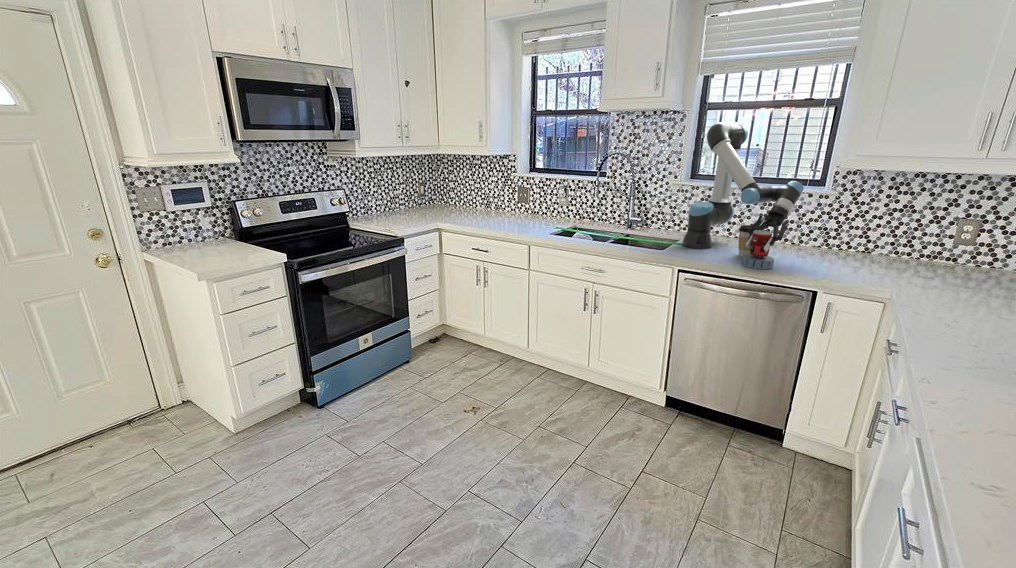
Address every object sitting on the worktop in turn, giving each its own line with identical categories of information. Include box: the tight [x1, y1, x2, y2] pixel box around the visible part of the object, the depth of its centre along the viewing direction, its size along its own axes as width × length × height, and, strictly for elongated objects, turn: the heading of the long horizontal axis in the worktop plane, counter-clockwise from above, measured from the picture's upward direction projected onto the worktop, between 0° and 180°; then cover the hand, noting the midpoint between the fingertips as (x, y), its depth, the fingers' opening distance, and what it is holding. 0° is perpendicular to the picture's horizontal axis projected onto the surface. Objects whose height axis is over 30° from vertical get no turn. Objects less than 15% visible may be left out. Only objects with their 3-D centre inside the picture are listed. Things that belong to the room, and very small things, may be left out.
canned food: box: [750, 229, 773, 257], centre depth 218 cm, size 8×8×11 cm
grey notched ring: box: [741, 254, 775, 271], centre depth 221 cm, size 13×13×4 cm
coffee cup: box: [738, 224, 753, 258], centre depth 236 cm, size 10×10×15 cm
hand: (756, 248), depth 217 cm, fingers closed on canned food, 8 cm apart
